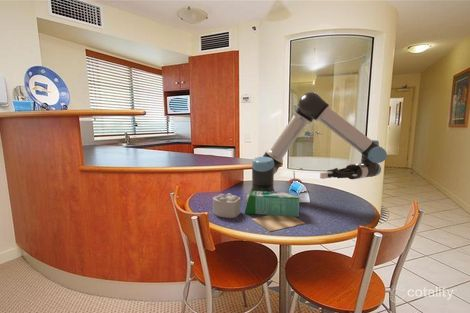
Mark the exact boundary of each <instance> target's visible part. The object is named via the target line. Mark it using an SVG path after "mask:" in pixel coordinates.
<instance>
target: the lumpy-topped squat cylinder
mask: <svg viewBox="0 0 470 313" xmlns="http://www.w3.org/2000/svg"><path fill="white" fill-rule="evenodd" d="M241 203H242V201H241V197H240V196H237V195H235V194H234V195H233V194H232V193H230V192H229V193H226V194H224V193H220V194H218V195H214V196H213V198H212V213H213V215H215V216H217V217H220V218H228V219H231V218H233V219H235V218H237V217H238V215H240V214H241V212H242V211H241V210H242V209H241V206H242V205H241Z"/></svg>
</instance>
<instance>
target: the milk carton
mask: <svg viewBox="0 0 470 313" xmlns="http://www.w3.org/2000/svg"><path fill="white" fill-rule="evenodd" d="M250 191H251V190H250ZM249 194H250V195H249ZM245 203H246V206H245V210H244V215H245V214H246V215H257V216H268V215H277V216H292V217H295V218H299V215H300V213H299V212H300V196H299V192H293V191H292V192H291V191H290V192H288V191H286V192H285V191H275V192H272V191H251V193H250V192H249V193H247V195H246V198H245Z"/></svg>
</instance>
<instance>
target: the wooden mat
mask: <svg viewBox="0 0 470 313" xmlns="http://www.w3.org/2000/svg"><path fill="white" fill-rule="evenodd" d="M251 220H252V221H254V222H255V223H257V224H258V225H260V227H262V228H264V229H265V230H267V231H268V232H271V233H272V232H275V231H279V230H283V229H287V228H292V227H297V226H302V225H305V224H306V223H305V222H304V221H302V220H300V219H298V217H292V216H277V215H262V216H259V217H254V218H251Z"/></svg>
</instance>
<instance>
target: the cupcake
mask: <svg viewBox="0 0 470 313" xmlns="http://www.w3.org/2000/svg"><path fill="white" fill-rule="evenodd" d="M295 175H296V174H295V171H293V178H290V179H289V181H288V185H289V187H290V186H291V184H292V183H293V181H298V182H300V183H302V184H303V181H302V180H301V179H299V178H296V176H295Z"/></svg>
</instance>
